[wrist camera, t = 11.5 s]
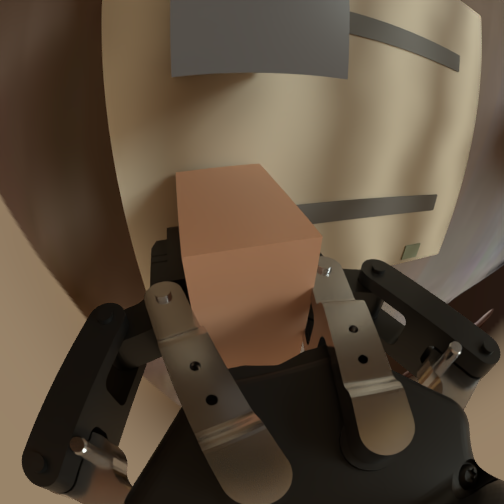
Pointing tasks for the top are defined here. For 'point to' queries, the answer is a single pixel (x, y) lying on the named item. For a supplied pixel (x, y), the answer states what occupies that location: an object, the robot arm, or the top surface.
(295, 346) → the block
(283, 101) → the fader console
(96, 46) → the top surface
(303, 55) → the block
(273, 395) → the robot arm
